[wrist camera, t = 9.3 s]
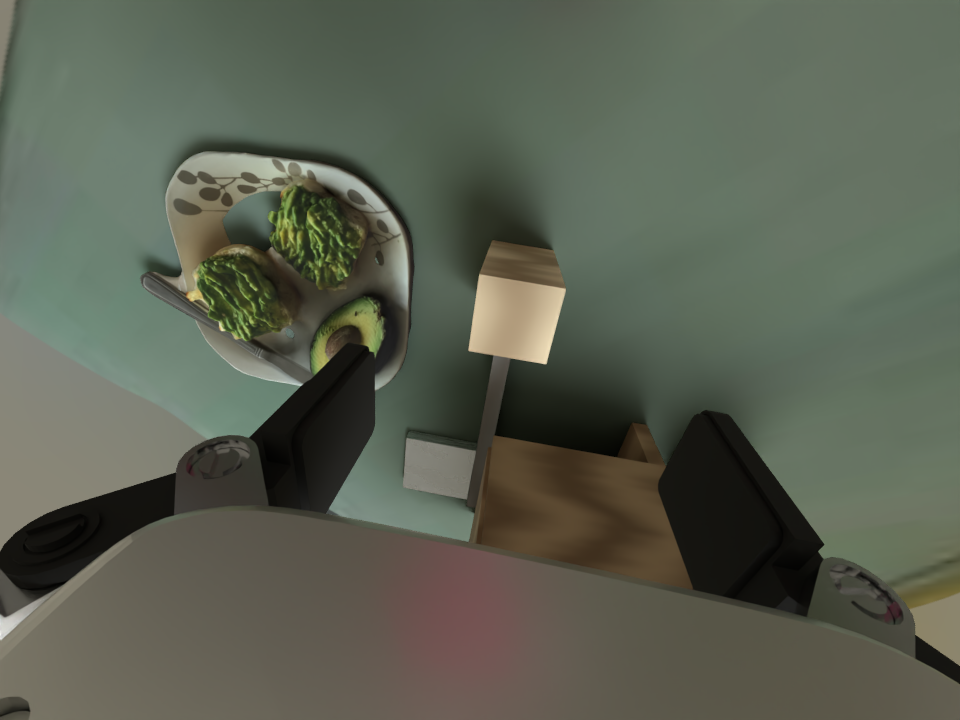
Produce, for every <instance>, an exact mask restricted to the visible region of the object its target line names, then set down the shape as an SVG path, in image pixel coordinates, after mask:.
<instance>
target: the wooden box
mask: <svg viewBox="0 0 960 720" xmlns="http://www.w3.org/2000/svg"><path fill="white" fill-rule="evenodd" d="M665 468H666V465H665V463H664V461H663V459H662V457H661V455H660V452H659V450H658V448H657V446H656V444H655V442H654V439H653V437H652V435H651V433H650V431H649V428H648V426H647V425H643V424H638V423H631V426H630V428H629V430H628V433H627V435H626V437H625V440H624V442H623V444H622V446H621V449H620V451H619V453H618V456H617V457H611V456H606V455H600V454H595V453H589V452H584V451H578V450H572V449H567V448H561V447H556V446H550V445H545V444H539V443H534V442H528V441H522V440H517V439H511V438H506V437H500V436H495V435H494V436H493V441H492V446H491V447H488V450H487V455H486V460H485V465H484V470H483V475H482V480H481V485H480V490H479V495H478V500H477V505H476V509H475V514H474V520H473V524H472V529H471V534H470V539H469V542H471V543H476V544H481V545H485V546H490V547H495V548H500V549H504V550H509V551H514V552H519V553H523V554H528V555H533V556H537V557H542V558H547V559H552V560H556V561H561V562H566V563H570V564H575V565H580V566H585V567H589V568H594V569H599V570H603V571H608V572H613V573H617V574H622V575H626V576H631V577H636V578H640V579H645V580H649V581H654V582H659V583H663V584H668V585H672V586H677V587H682V588H686V589H691V590H693V587H692V584H691V581H690V578H689V576H688V573H687V570H686V567H685V565H684V562H683V559H682V556H681V553H680V551H679V548H678V545H677V542H676V540H675V537H674V534H673V531H672V528H671V526H670V523H669V520H668V517H667V514H666V512H665V509H664V506H663V503H662V501H661V498H660V495H659V492H658V482H659V479H660V477H661V475H662V473H663V472H664V470H665Z"/></svg>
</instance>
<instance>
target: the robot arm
mask: <svg viewBox="0 0 960 720" xmlns="http://www.w3.org/2000/svg"><path fill="white" fill-rule="evenodd" d="M374 426H375V354H374V352H371V351H369V347H368V346H365V345H360V344H355V343H346V344H345V345H344V346H343V347H342V348H341V349H340V350H339V351H338V352H337V353H336V354H335V355H334V356H333V357H332V358H331V359H330V360H329V361H328V362H327V363H326V364H325V365H324V366H323V367H322V368H321V369H320V370H319V371H318V372H317V373H316V374H315V376H314V377H313V378H312V379H311V380H308V381H306V382H305V383H304V384H303V385H302V386H301V387H300V388H299V389H298V390H297V391H296V392H295V393H294V394H293V395H292V396H291V397H290V398H289V399H288V400H287V401H286V402H285V403H284V404H283V405H282V406H281V407H280V408H279V409H278V410H277V411H276V412H275V413H274V414H273V415H272V416H271V417H270V418H269V419H268V420H267V421H266V422H264V423H263V424H262V425H261V426H260V427H259V428H258V429H257V430H256V431H255V432H254V433H253V434H252V435H251V436H250V437H249V438H247V437H244V436H240V435H227V436H220V437H216V438H212V439H209V440H206V441H204V442H202V443H200V444H198V445H196V446H194V447H193V448H191V449H190V450H189V451H188V452H186V453H185V454H184V455H183V457H182V458H181V459H180V460H179V462H178V465H177V468H176V473H173V474H170V475H167V476H163V477H160V478H157V479H153V480H150V481H147V482H144V483H140V484H137V485H134V486H131V487H128V488H124V489H121V490H117V491H114V492H111V493H108V494H104V495H102V496H98V497H95V498H91V499H88V500H85V501H82V502H79V503H75V504H72V505H69V506H65V507H62V508H60V509H57V510H54V511H52V512H49V513H47V514H45V515H43V516H41V517H39V518H37V519H35V520H34V521H32V522H30V523H29V524H27V525H26V526H24V527H23V528H22V529H20V530H19V531H18V532H16V533H15V534H14V535H13V536H12V537H11V538H10V539H9V540H8V541H7V542H6V543H5V544H4V546H3V548H2V550H1V551H0V720H960V666H959V665H958V664H956V663H955V662H953V661H952V660H950V659H949V658H948V657H946V656H945V655H943V654H942V653H940V652H939V651H938V650H936V649H935V648H933V647H932V646H930V645H929V644H928V643H926V642H925V641H923V640H922V639H920V638H919V637H918V636H916V635H915V623H914V619H913V615H912V613H911V612H910V610H909V608H908V607H907V605H906V604H905V602H904V601H903V600H902V599H901V598H900V597H899V596H898V595H897V593H896V592H895V591H894V590H893V589H891V588H890V587H889V586H888V585H887V584H886V583H885V582H884V581H882V580H881V579H880V578H878V577H877V576H875V575H874V574H872V573H871V572H870V571H868V570H866V569H865V568H863V567H861V566H859V565H857V564H855V563H853V562H850V561H847V560H845V559H842V558H835V557H830V558H826V559H823V558H822V557H821V555H820V554H819V552H818V551H819V550H820V549H821V548H822V547H823V546H824V543H823V542H822V540H821V539H820V538H819V536H818V535H817V534H816V532H815V531H814V530H813V528H812V527H811V526H810V524H809V523H808V521H807V520H806V519H805V517H804V516H803V515H802V513H801V512H800V511H799V509H798V508H797V506H796V505H795V504H794V502H793V501H792V500H791V498H790V497H789V496H788V494H787V493H786V491H785V490H784V489H783V487H782V486H781V485H780V483H779V482H778V481H777V479H776V478H775V476H774V475H773V474H772V472H771V471H770V470H769V468H768V467H767V466H766V464H765V463H764V462H763V460H762V459H761V457H760V456H759V455H758V453H757V452H756V451H755V449H754V448H753V447H752V445H751V444H750V442H749V441H748V440H747V438H746V437H745V436H744V434H743V433H742V432H741V430H740V429H739V427H738V426H737V425H736V423H735V422H734V421H733V419H732V418H731V417H730V416H729V415H727V414H723V413H718V412H713V411H708V410H705V411H703V412H701V414H696V415H695V416H694V417H693V418H692V420H691V422H690V424H689V426H688V428H687V429H686V431H685V433H684V435H683V437H682V439H681V440H680V442H679V444H678V446H677V448H676V450H675V451H674V453H673V455H672V457H671V459H670V461H669V462H668V464H667V466H666V468H665V470H664V472H663V473H662V475H661V477H660V479H659V482H658V492H659V495H660V498H661V501H662V503H663V506H664V509H665V512H666V514H667V517H668V520H669V523H670V526H671V528H672V531H673V534H674V537H675V540H676V542H677V545H678V548H679V551H680V553H681V556H682V559H683V562H684V565H685V567H686V570H687V573H688V576H689V578H690V581H691V584H692V587H693V590H691V589H686V588H682V587H677V586H672V585H668V584H663V583H659V582H654V581H649V580H645V579H640V578H636V577H631V576H626V575H622V574H617V573H613V572H608V571H603V570H599V569H594V568H589V567H585V566H580V565H575V564H570V563H566V562H561V561H556V560H552V559H547V558H542V557H537V556H533V555H528V554H523V553H519V552H514V551H509V550H504V549H500V548H495V547H490V546H485V545H481V544H476V543H471V542H466V541H461V540H456V539H451V538H447V537H442V536H437V535H432V534H427V533H422V532H417V531H413V530H408V529H403V528H398V527H393V526H388V525H383V524H378V523H373V522H368V521H362V520H357V519H352V518H346V517H341V516H335V515H330V514H326V512H327V511H328V509H329V507H330V505H331V504H332V502H333V500H334V499H335V497H336V495H337V493H338V492H339V490H340V488H341V487H342V485H343V483H344V481H345V480H346V478H347V476H348V475H349V473H350V471H351V469H352V468H353V466H354V464H355V463H356V461H357V459H358V457H359V456H360V454H361V452H362V451H363V449H364V447H365V445H366V444H367V442H368V440H369V439H370V437H371V435H372V433H373V430H374Z"/></svg>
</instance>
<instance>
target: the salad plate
mask: <svg viewBox="0 0 960 720" xmlns="http://www.w3.org/2000/svg"><path fill="white" fill-rule="evenodd" d="M263 191H282V192H281V195H280V198H281V199H282V200H281V206H280V208H279V210H278V211H277V212H273V211H270V212H269V214H268V219H269V220H270V222H271V223H273V224H275V226H276V230H275V231H273V232H271V235H270V237H269V240H270V242H271V244H272V246H271V248H270V249H268V250H266V251H265V252H263V251H261V250H260V249H257V248H255V247H253V246H250V245H245V244H234V245H231V242H230V241H229V239H228V237H227V234H226V231H225V228H224V225H223V218H224V217H225V215H226V214H227V213H228V211H229V210H230V209H231V208H232V207H233V206H234V205H235V204H236V203H238V202H240V201H241V200H242V199H244V198H245V197H247V196H249V195H253V194H255V193H260V192H263ZM165 199H166V212H167V216H168V220H169V224H170V228H171V232H172V235H173V238H174V242H175V246H176V248H177V252H178V256H179V259H180V263H181V268H182V272H181V275H180V276H179V277H169V276H165V275H162V274H159V273H157V272H151V271H149V272H147V273H145V274H143V275H141V277H140V281H141V284H142V286H143V288H145V289H146V290H147V291H149V292H150V293H151V294H152V295H154V296H156V297H157V298H159V299H161V300H163V301H164V302H166V303H168V304H169V305H171V306H173V307H175V308H176V309H178V310H180V311H182V312H183V313H185V314H187V315H189V316H190V317H192V318H194V319H195V321H196V323H197V325H198V327H199V329H200V331H201V333H202V334H203V336H204V338H205V339H206V341H207V342H208V343H209V344H210V346H211V347H212V348H213V349H214V350H215V351H216V352H217V353H218V354H219V355H220V356H221V357H222V358H224V359H225V360H226V361H227V362H228V363H229V364H230V365H232V366H233V367H234V368H236V369H237V370H239V371H241V372H243V373H245V374H247V375H250V376H255V377H258V378H262V379H265V380H270V381H276V382H281V383H288V384H293V385H299V386H302V385H303V384H304V383H305V382H306V381H308V380H311V379H312V378H313V377H314V376H315V374H316V373H317V372H318V371H319V370H320V369H321V368H322V367H323V366H324V365H325V364H326V363H327V362H328V361H329V360H330V359H331V358H332V357H333V356H334V355H335V354H336V353H337V352H338V351H339V350H340V349H341V348H342V347H343V346H344V345H345V344H346V343H355V344H360V345H365V346H368V347H369V351H371V352H374V354H375V391H377V390H378V389H380V388H381V387H383V386H385V385H386V384H388V383H389V382H390V381H391V379H393V378H394V377H395V375H396V373H397V372H398V371H399V370H400V369H401V367H402V365H403V363H404V359H405V356H406V351H407V345H408V336H409V332H410V328H411V300H412V286H413V276H414V260H413V245H412V239H411V236H410V232H409V230H408V228H407V227H406V225H405V223H404V222H403V220H402V218H401V217H400V216H399V214H398V213H397V212H396V210H395V209H394V208H393V207H392V206H391V204H390V203H389V202H388V201H387V199H386V198H385V197H384V196H383V195H382V194H381V193H380V192H379V191H378V190H377V189H375V188H374V187H373V186H372V185H371V184H370V183H368V182H367V181H366V180H364V179H363V178H361V177H359V176H358V175H356V174H354V173H351V172H349V171H347V170H345V169H343V168H341V167H339V166H335V165H332V164H329V163H326V162H321V161H315V160H294V159H287V158H281V157H273V156H264V155H257V154H250V153H245V152H243V153H239V152H217V151H204V152H202V153H199V154H195V155H193V156H191V157H190V158H188V159H187V160H185V161H184V162H183V163H182V164H181V165H180V167H179V168H178V169H177V170H176V172H175V174H174V176H173V178H172V179H171V181H170V183H169V185H168V188H167V191H166V198H165ZM375 257H377V260H378V262H379V264H377V263H376V261H375ZM287 328H289V329H291V330H292V331H293V333H294V337H293V338H289V337H288V336H287V335H286V332H285V330H286V329H287Z"/></svg>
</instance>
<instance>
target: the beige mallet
mask: <svg viewBox="0 0 960 720" xmlns="http://www.w3.org/2000/svg"><path fill="white" fill-rule="evenodd" d="M565 291H566V287H565V284H564V281H563V278H562V275H561V272H560V269H559V265H558V262H557V259H556V256H555V253H554V250H548V249H542V248H536V247H530V246H524V245H518V244H512V243H506V242H500V241H494V240H492V242H491V245H490V247H489V250H488V252H487V255H486V258H485V260H484V263H483V266H482V268H481V271H480V274H479V280H478V287H477V294H476V301H475V308H474V315H473V322H472V329H471V336H470V343H469V350H468V351H472V352H478V353H484V354H489V355H493V360H492V366H491V372H490V377H489V383H488V388H487V394H486V399H485V405H484V410H483V416H482V421H481V427H480V432H479V438H478V443H477V449H476V454H475V460H474V465H473V471H472V476H471V482H470V488H469V493H468V499H467V505H466V506H468V507H474V508H476V505H477V500H478V495H479V490H480V485H481V480H482V475H483V470H484V465H485V460H486V455H487V450H488V447H491V446H492V441H493V436H494V435H495V431H496V426H497V421H498V416H499V412H500V407H501V402H502V397H503V392H504V388H505V383H506V378H507V373H508V368H509V363H510V359H511V358H512V359H518V360H524V361H530V362H535V363H541V364H546V363H547V359H548V355H549V352H550V348H551V344H552V340H553V337H554V333H555V329H556V325H557V321H558V318H559V314H560V310H561V306H562V302H563V299H564V295H565Z"/></svg>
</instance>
